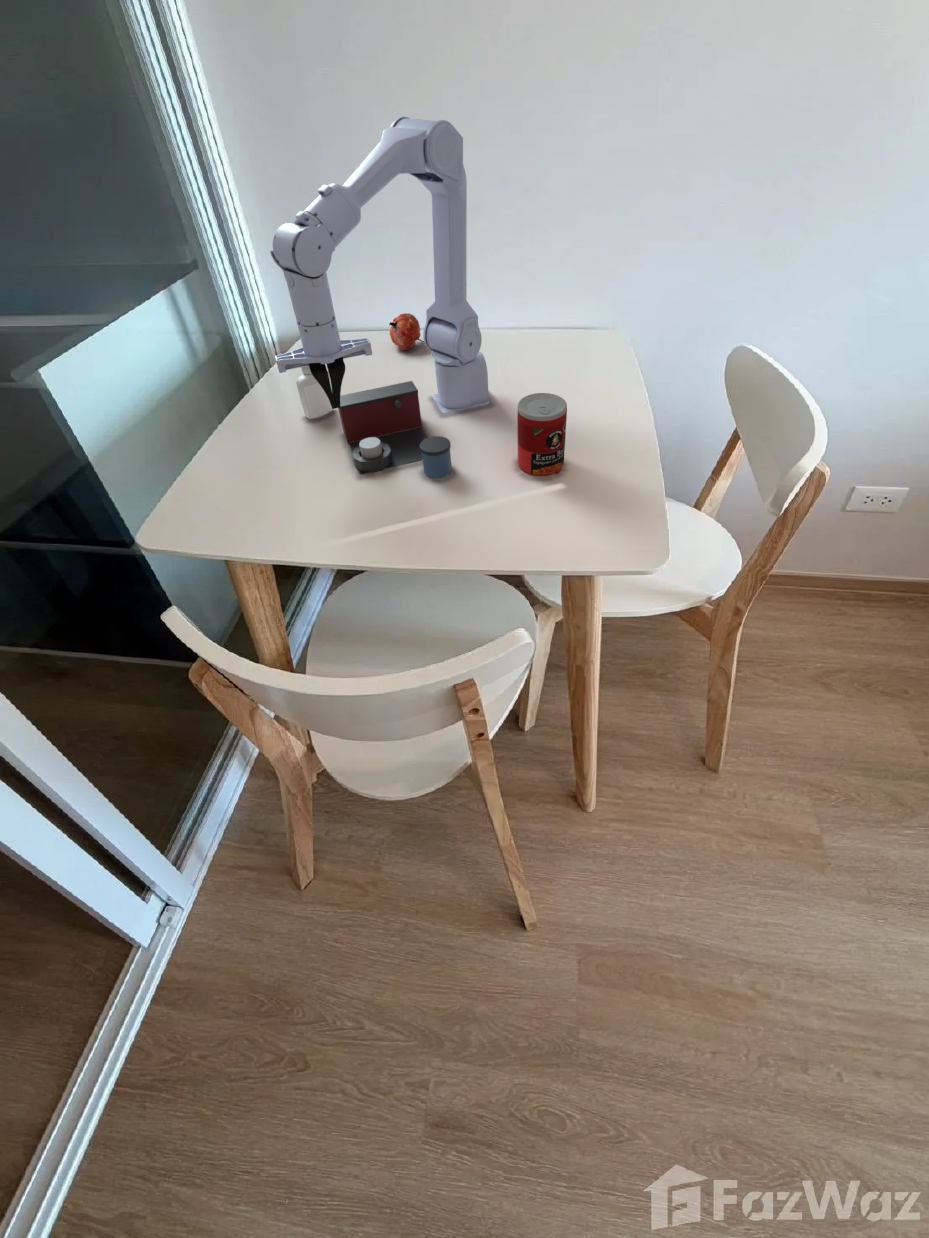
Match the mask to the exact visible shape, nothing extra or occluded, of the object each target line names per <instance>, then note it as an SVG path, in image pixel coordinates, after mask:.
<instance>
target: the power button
mask: <svg viewBox="0 0 929 1238" xmlns="http://www.w3.org/2000/svg"><path fill="white" fill-rule="evenodd" d="M359 446H360V451H361V455H362V457H364V458H375V457H378V456H380V455H381V454H382V447H381V441H380V440H379V439H378V438H375V437H369V438H365V439H363V440H360V443H359Z"/></svg>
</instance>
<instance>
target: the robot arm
mask: <svg viewBox="0 0 929 1238" xmlns="http://www.w3.org/2000/svg"><path fill="white" fill-rule="evenodd" d="M400 174H403V175H404V174H408V175H410V176H412V177H415V178H416V179H417V180H418V181H419V182H420V183H421V184H422V185H423V186H424V187H425V189H427V190H428V191H429V193H430V194H431V215H432V216H431V218H432V247H433V250H432V251H433V252H432V253H433V278H434V279H433V280H434V281H433V283H434V302H433V303H431V305H429V306H428V308H426V310H425V313H426V314H425V315H426V317H425V324H424V326H423V333H422V337H423V341H424V342H423V343H424V345H425V347H426V348H427V349H429V350H430V353H431V357H432V358H433V360H434V369H435V379H436V390H437V394H433V395H432V396H431V397H432V399H433V400H434V402H435V403H436V405H437V406H438V408H439V410H440V411H441V413H442V414H450V413H453V412H454V413H455V412H459V411H463V410H467V409H473V408H476V407H477V408H478V407H482V406H486V405H489V404H490V403H491V401H489V375H488V374H489V373H488V366H487V361H486V358H485V356H484V353H482V352H481V351H480V350H481V347H482V340H483V339H482V332H481V330H480V327H479V326H480V325H479V315H478V314H477V313H476V311H475V310H474V308H473V307H472V306H471V305H470V303H469V301H468V300H467V214H468V213H467V212H468V211H467V184H468V183H467V174H466V170H465V165H464V137H463V136H462V135H461V133H460V131H458V130H457V128H456V127H455V126H454V125H453V124H452V123H451V122H450V121H448V120H444V119H440V120H431V119H419V118H410V117H408V116H399V117H397V118H396V119H395V120H393V121H392V123H391V125H390V126H388V127H386V128H385V129H384V130H383V131H382V135H381V139H380V141H379V142H378V143H377V144H376V145H375V147H373V149H372V150H371V151H370V153H369V154H368V155H367V156H366V157H365V158H364V160H363V161H362V162H361V163H360V164H359V166H358V167H357V168H356V169H355V171H353V173H352V174H351V175H350V176H349V177H348V178H347V180H346V181H345V182H344V183H343V185H341V184H339V183H330V184H328V185H327V184H322V186H321V187H320V188H318V190H317V192H318V196H317V197H316V198H315V199H314V200H313V201H312V202H311V203H310V204H309V205H308V206H307V207H306V208H305V209H304V211H301V210H299V211H298V212H297V213H296V214H295V220H294V223H292V222H289V223H284V224H281V225H280V226H279V227H278V228H277V229H276V231H275V232H274V235H273V238H272V250H270V255H271V258H272V260H273V261H274V263H275V264H276V266H277V267H278V268H280V270H281V271H282V272H283V277H284V279H285V281H286V285H287V289H288V293H289V297H290V302H291V305H292V309H293V313H294V318H295V321H296V325H297V329H298V334H299V337H300V341H301V345H302V346H301V347H299V348H296V349H294V350H290V351H288V352H287V351H286V352H285V353H282V354H277V355H276V354H275V355H274V358H275V362H276V366H277V370H278V373H279V374H282V373H286V372H287V371H288V370H292V369H293V370H294V369H299V368H301V367H304V366H309V368H310V371H311V374H312V375H313V377H314V378H315V379H316V380H317V382H318V383H319V384H320V386H321V387H322V388H323V390H324V392H325V393H326V395H327V397H328V399H329V401H330V404H331V407H332V409H333V410H335V409H338V408H340V407H341V405H340V396H341V392H342V385H343V381H344V377H345V373H346V364H345V361H344V359H349V358H353V357H359V356H364V355H365V356H366V357H368V356H373V350H372V343H371V341H370V339H369V338H368V337H365V338H357V339H354V338H353V339H341V337H340V333H339V328H338V327H339V326H338V323H337V318H336V314H335V309H334V304H333V299H332V294H331V289H330V288H331V287H330V284H329V280H328V279H329V278H328V274H327V272H328V270H329V268H330V266H331V263H332V255H333V253H334V252H335V251H336V248H337V247H338V246H339V245H340V244H341V243H342V242H343V241H344V240H345V238H347V237H348V235H349V234H351V233H352V232H353V231H354V229H355V228H356V227H357V226H358V225H359V224H360V222H361V218H362V208H363V207H364V206H365V205H366V204H367V203H368V202H369V201H370V200H371V199H373V198H374V197H375V196H376V195H377V194H378V193H379V192H380V191H382V190H383V189H384V188H385V187H386V186H387V185H388V184H389V183H390V182H392V181H393V180H394V179H395V178H397V177H398V175H400Z"/></svg>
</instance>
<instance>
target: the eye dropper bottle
mask: <svg viewBox="0 0 929 1238" xmlns="http://www.w3.org/2000/svg"><path fill="white" fill-rule="evenodd" d="M300 368H301V372H302V373H301V375H300V376H299V377H298V378H297V379H296V387H297V391H298V395H299V399H300V402H301V407H302V410H303V414H304V417H305V418H307V419H309V420H314V419H318V418H320V417H323V416H326V415H328V414H329V413H331V412H333V411H334V409H332V407H331V404H330V401H329V399H328V397H327V395H326V393H325V392H324V390H323V388H322V387H321V386H320V384H319V383H318V382H317V380H316V379H315V378H314V377H313V375H312V374H311V371H310V368H309V366H304V367H300Z"/></svg>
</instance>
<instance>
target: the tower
mask: <svg viewBox="0 0 929 1238" xmlns="http://www.w3.org/2000/svg"><path fill="white" fill-rule="evenodd" d="M419 398H420V397H419V390H418V388H417V386H416V385H415V383H414V381H413V380H409V381H404V382H399V383H395V384H390V385H384V386H380V387H376V388H375V387H374V388H372V389H365V390H361V391H357V392H352V393H347V394H342V395H341V394H340V405H341V407H340V408H337V409H338V414H339V418H340V422H341V426H342V431H343V434H344V435H343V436H344V438H345V440H346V443H347V444H348V443H352V442H356V441H361V440H363V439H365V438H369V437H379V436H383V435H388V434H392V433H397V432H401V431H406V430H410V429H415V428H419V427H423V423H422V416H421V407H420V399H419Z"/></svg>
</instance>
